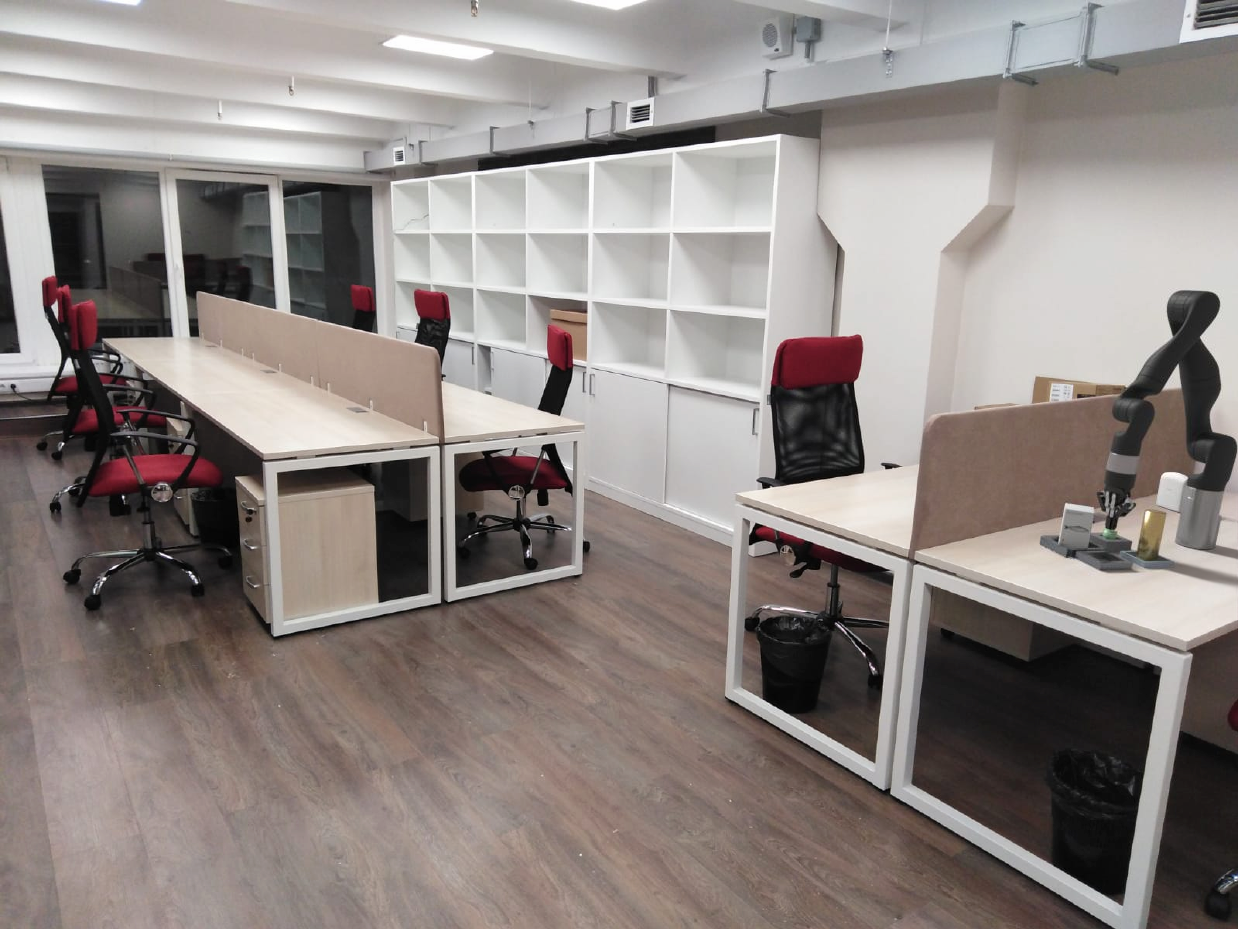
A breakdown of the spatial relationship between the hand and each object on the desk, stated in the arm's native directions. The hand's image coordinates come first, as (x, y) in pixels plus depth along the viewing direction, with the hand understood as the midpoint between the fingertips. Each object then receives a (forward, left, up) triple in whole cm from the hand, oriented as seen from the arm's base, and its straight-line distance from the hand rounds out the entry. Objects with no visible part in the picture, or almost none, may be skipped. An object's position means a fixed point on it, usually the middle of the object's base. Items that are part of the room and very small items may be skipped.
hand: (1110, 529), depth 244 cm
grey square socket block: (0, 0, -6) cm, 6 cm away
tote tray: (-2, +12, -6) cm, 14 cm away
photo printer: (-55, -38, -6) cm, 67 cm away
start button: (0, 0, -4) cm, 4 cm away
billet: (-2, +12, -5) cm, 13 cm away
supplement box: (+12, +1, -6) cm, 13 cm away
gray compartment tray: (+12, +7, -6) cm, 15 cm away
